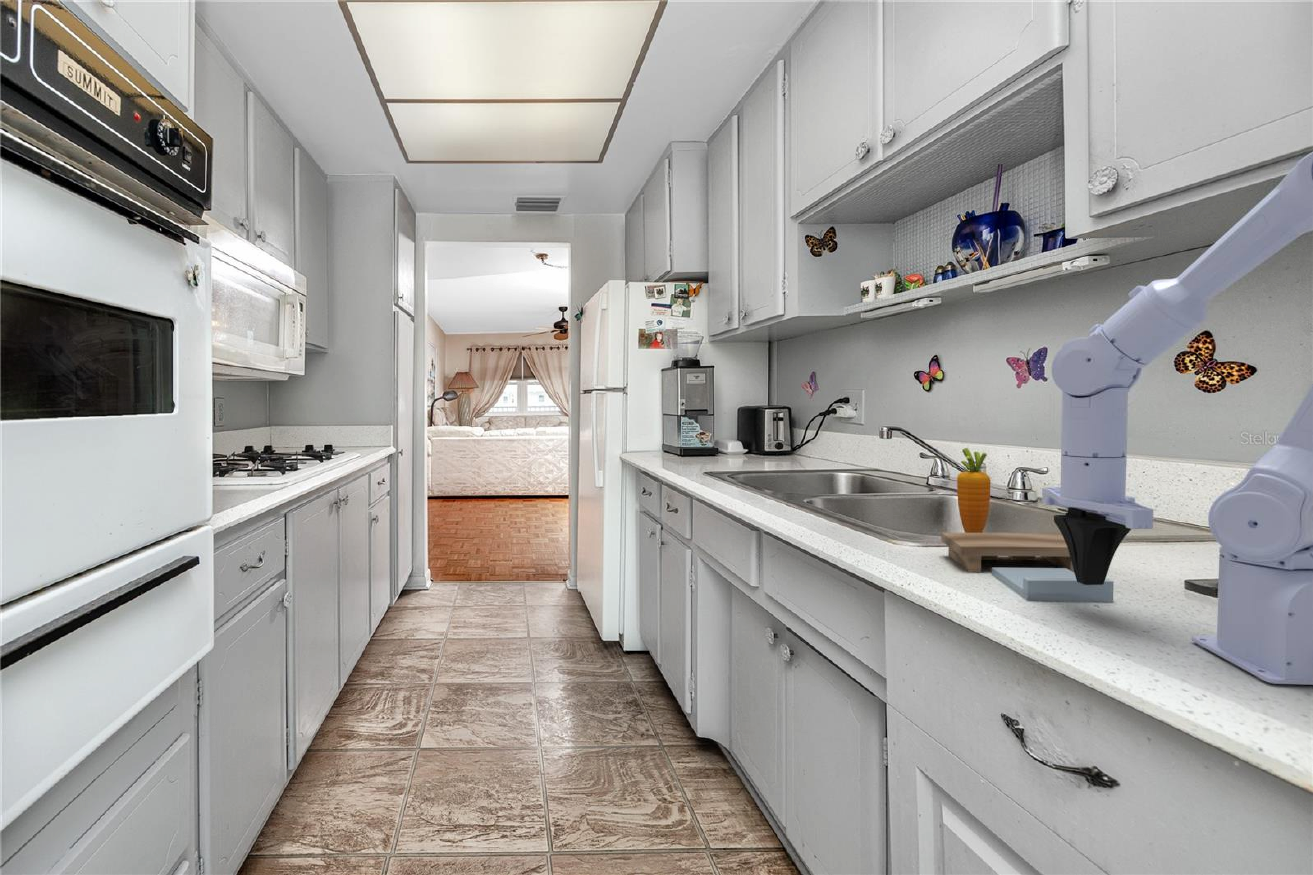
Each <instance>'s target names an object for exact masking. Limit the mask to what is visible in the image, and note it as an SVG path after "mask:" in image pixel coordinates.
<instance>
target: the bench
mask: <svg viewBox="0 0 1313 875" xmlns="http://www.w3.org/2000/svg"><path fill="white" fill-rule="evenodd" d="M940 537H941V538H940V540H941V542H942V543H944V544H945V545H946V546H948V555H947V556H949V558H950V559H951V560H954V561H955V563H957V564H959V566H961V567H962V568H964V570H966V571H967V572H968V573H982V561H983V560H984V561H998V560H999V557H1008V558H1009V559H1010V560H1012V561H1036V559H1037V558H1036V557H1040V558H1042V559H1043V560H1045V561H1047V562H1049V563H1050V564H1053V565H1055V566H1056V567H1058V568H1067V569H1068V570H1070V571H1072V572H1074V569H1073V565H1072V561H1071V557H1070V554H1069V551H1068V548H1067V545H1066V542H1065V540H1064V538H1063V536H1062V534H1061V532H1060V533H1059V532H982V533H965V532H941V533H940Z"/></svg>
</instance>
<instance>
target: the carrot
mask: <svg viewBox="0 0 1313 875" xmlns="http://www.w3.org/2000/svg"><path fill="white" fill-rule="evenodd" d="M961 451H962V453H963V455H964V457H965V458H966V461H965V460H961V461H960V462H961V464H962V465H963V466H964V467H965V468H966V469H967V470H965V471H961V472H960V473H959V474H958V475H957V478H956V487H957V488H956V489H957V506H958V511H959V512H958V513H959V516H960V521H961V525H962V528H963V531H964V533H984V530H985V527H986V524H987V519H988V515H989V510H990V503H991V499H990V498H991V477H990V476H989V475H988V474H987V473H986V472H985V471H980V469H981V467H982V465H983V463H984V461H985V459H986V457H987V456H988V453H987V452H985V451H984V452H983V453H980V452H978V451H974V452H973V455H972V453H971V451H970V449H969V447H964V448H962V450H961ZM973 456H974V457H973Z"/></svg>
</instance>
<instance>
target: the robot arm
mask: <svg viewBox="0 0 1313 875" xmlns="http://www.w3.org/2000/svg"><path fill="white" fill-rule="evenodd" d="M1309 232H1310V233H1311V232H1313V151H1311V152H1310V153H1308V154H1307V155H1306V156H1304V157H1303V158H1301V159H1300V160H1299V161H1298V162H1297V163H1296V164H1295V165H1294V166H1293V167H1292V168H1291V170H1290V171H1289V172H1288V173H1287V174H1286V175H1285V177H1283V179H1282V180H1281V181H1280V182H1279V184H1277V186H1275V188H1273V189H1272V190H1271V191H1270V192H1269V193H1268V194H1267V195H1266V196H1264V198H1263V199H1262V200H1260V202H1258V203H1257V204H1256V205H1255V206H1254V207H1253V208H1251V209H1250V210H1249V211H1248V213H1246V214H1245V215H1244V216H1243V217H1241V219H1240V220H1239V221H1237V222H1236V223H1235V224H1234V225H1233V226H1232V227H1231V228H1230V229H1228V230H1227V231H1226V233H1224V234H1223V235H1222V236H1221V237H1220V238H1219V239H1217V241H1216V242H1214V244H1212V245H1211V246H1210V247H1209V248H1208V249H1207V250H1206V251H1204V252H1203V254H1201V255H1200V256H1199V257H1198V258H1197V259H1196V260H1195V261H1194V262H1193V263H1191V264H1190V265H1189V266H1188V267H1187V268H1186V269H1185V270H1184V271H1183V272H1182V273H1180V274H1179V276H1177V277H1174V278H1168V279H1166V278H1165V279H1164V278H1163V279H1155V280H1153V281H1151V282H1150V283H1149V284H1147V286H1145V285H1137V286H1136V287H1134V288H1133V289H1132V290H1131V291H1130V292H1129V293H1127V296H1128V297H1129V298H1130V299H1129V301H1128V302H1126V303H1125V304H1124V305H1122V307H1121V308H1120V309H1118V310H1117V311H1116V312H1115V313H1114V314H1112V315H1111V316H1110V317H1109V318H1108V319H1106V321H1104V322H1103V323H1102V324H1097V323H1096V324H1095V325H1093V326H1092V327H1091V328H1090V329H1089V331H1088V332H1089V333H1090V334H1089V336H1088V337H1077V338H1073V339H1071V340H1068V341H1066V342H1064V344H1063V345H1062V347H1061V348H1060V349H1059V350H1058V352H1057V353H1056V354H1055V355H1054V357H1053V360H1052V364H1051V377H1052V379H1053V382H1054V384H1055V385H1056V387H1058V388H1059V390H1061V391H1062V394H1061V395H1062V397H1061V398H1062V399H1061V442H1060V443H1061V444H1060V449H1061V450H1060V486H1057V487H1055V486H1053V487H1052V486H1051V487H1050V486H1049V487H1047V486H1046V487H1042V488H1041V493H1042V494H1041V497H1042V498H1041V504H1042V505H1046V506H1054V507H1058V508H1062V509H1066V510H1067V512H1065V514H1055V515H1053V522H1054V524H1055V525H1056V526H1057V528H1058V530H1059V531H1060V534H1062V536H1063V538H1064V540H1065V542H1066V545H1067V548H1068V551H1069V554H1070V557H1071V561H1072V565H1073V569H1074V573H1075V577H1076V580H1077V582H1079V583H1081V584H1084V585H1103V584H1104V581H1105V579H1107V575H1108V572H1109V570H1110V566H1111V563H1112V560H1113V559H1114V557H1115V555H1116V552H1117V549H1118V548H1119V546H1120V545H1121V543H1122V542H1123V541H1124V539H1125V538H1126V536H1127V534H1129V533H1130V532H1131V531H1132V530H1153V529H1154V509H1153V508H1151V507H1146V506H1144V505H1141V504H1139V503H1137V502H1136V498H1135V497H1133V496H1130V495H1126V490H1127V489H1126V488H1127V487H1126V486H1127V457H1128V456H1127V453H1128V452H1127V451H1128V450H1127V449H1128V446H1127V445H1128V421H1129V420H1128V416H1129V415H1128V414H1129V411H1128V405H1129V400H1128V398H1129V392H1130V390H1131V389H1132V388H1134V386H1135V385H1136V384H1137V382H1138V381H1139V379H1140V376H1141V374H1142V370H1143V368H1146V367H1147V366H1148V365H1149V364H1151V363H1152V362H1154V361H1155V360H1156V359H1158V358H1159V357H1160V356H1161V355H1163V354H1164V353H1165V352H1167V351H1168V350H1170V349H1171V348H1172V347H1173V346H1175V345H1176V344H1178V342H1180V341H1182V340H1183V338H1185V337H1186V336H1188V335H1189V334H1191V332H1193V331H1194V330H1195V329H1197V328H1199V327H1200V326H1201V325H1203V323H1205V322H1206V318H1207V312H1208V307H1209V303H1210V301H1211V300H1212V299H1213V298H1215V297H1217V295H1219V294H1220V293H1222V292H1223V291H1224V290H1226V289H1228V288H1229V287H1230V286H1232V285H1233V284H1235V283H1236V282H1237V281H1239V280H1240V279H1241V278H1243V277H1245V275H1247V274H1248V273H1250V272H1252V271H1253V270H1254V269H1255V268H1257V267H1258V266H1259V265H1261V264H1263V263H1264V262H1265V261H1266V260H1268V259H1269V258H1271V257H1272V256H1274V255H1275V254H1276V253H1277V252H1279V251H1281V250H1282V249H1283V248H1285V247H1286V246H1288V245H1289V244H1291V243H1292V242H1293V241H1294V240H1296V239H1297V238H1299V237H1300V236H1301V235H1304V234H1306V233H1309ZM1208 527H1209V530H1210V532H1211V534H1212V536H1213V537H1214V540H1216V542H1217V543H1218V544H1219V551H1218V552H1219V554H1218V582H1217V583H1218V585H1217V618H1216V620H1217V621H1216V623H1217V624H1216V636H1214V635H1212V636H1211V635H1193V636H1192V638H1191V640H1192V642H1193V643H1195V644H1197V645H1199V646H1201V647H1202V648H1204V649H1206V650H1208V651H1209V652H1212V653H1213V654H1215V655H1217V656H1219V657H1221V658H1223V659H1224V660H1226V661H1228V662H1230V663H1232V664H1233V665H1234V666H1236V667H1239V668H1241V669H1242V670H1244V671H1245V672H1246V671H1247V672H1248V673H1250V674H1251V675H1254V676H1255V677H1256V678H1259V679H1261V680H1262V681H1264V682H1266V683H1268V684H1269V683H1270V684H1275V685H1277V684H1278V685H1303V686H1304V685H1306V686H1307V685H1308V686H1309V685H1310V686H1313V383H1312V384H1311V386H1310V388H1309V389H1308V391H1307V393H1306V395H1304V397H1303V399H1302V401H1301V402H1300V404H1299V406H1298V407H1297V409H1296V410H1295V412H1294V414H1293V415H1292V417H1291V418H1290V420H1289V422H1288V423H1287V425H1286V427H1285V428H1284V430H1283V432H1282V433H1281V435H1280V436H1279V438H1278V440H1277V442H1276V443H1275V444H1274V445H1273V446H1272V447H1271V448H1270V449H1269V450H1268V451H1267V452H1266V453H1265V454H1264V455H1263V456H1262V457H1260V458H1259V459H1258V460H1257V461H1256V462H1255V463H1254V464H1253V465H1252V466H1251V467H1250V469H1249V470H1248V471H1247V474H1246V475H1245V476H1244V478H1243V479H1242V480H1241V481H1240V483H1238V484H1237V485H1236V486H1234V487H1233V488H1230V489H1228V490H1227V491H1225V492H1223V493H1221V494H1220V495H1219V496H1217V498H1216V499H1215V500H1214V501H1213V502H1212V505H1211V506H1210V509H1209V511H1208Z"/></svg>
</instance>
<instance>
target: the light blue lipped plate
mask: <svg viewBox="0 0 1313 875" xmlns="http://www.w3.org/2000/svg"><path fill="white" fill-rule="evenodd" d="M991 575H992V576H993V577H994V578H996V579H997V580H998V581H1000V582H1001V583H1002V584H1004V585H1005V586H1006V587H1008V588H1009V589H1011V590H1012V592H1013V591H1014V593H1016V594H1017V595H1019V596H1020V597H1021V598H1023V599H1024V600H1026V601H1027V602H1066V603H1067V602H1068V603H1069V602H1073V603H1075V602H1077V603H1078V602H1079V603H1114V581H1113V580H1111V579H1109V578H1106V579H1105V581H1104V584H1103V585H1084V584H1081V583H1079V582H1077V580H1076V577H1075V573H1074V572H1072V571H1070V570H1068V569H1067V568H1060V567H1058V568H1057V567H991Z"/></svg>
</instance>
